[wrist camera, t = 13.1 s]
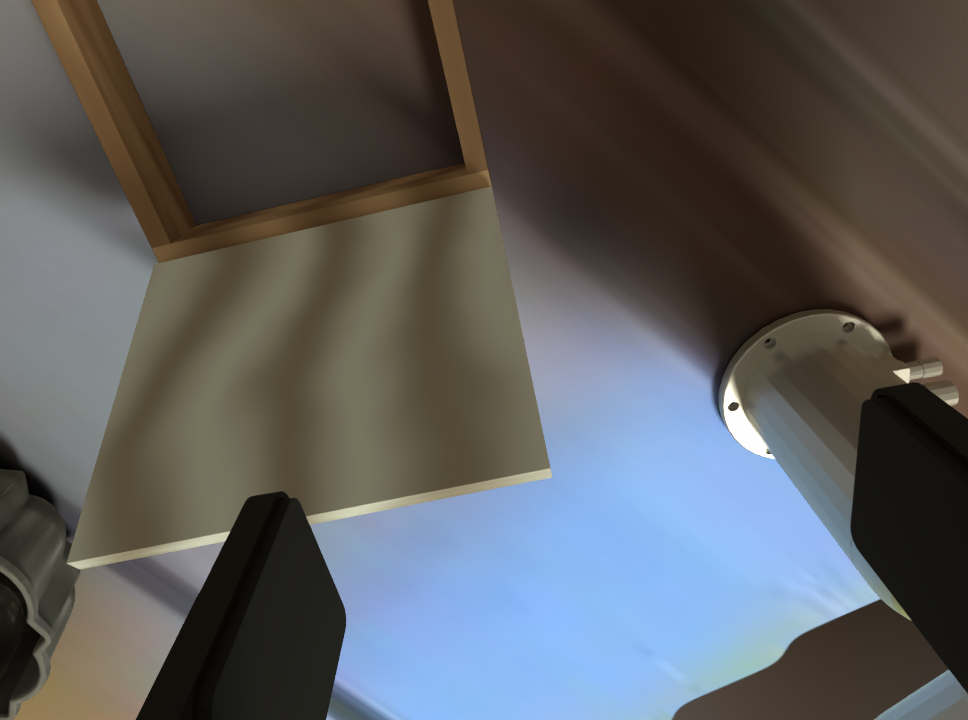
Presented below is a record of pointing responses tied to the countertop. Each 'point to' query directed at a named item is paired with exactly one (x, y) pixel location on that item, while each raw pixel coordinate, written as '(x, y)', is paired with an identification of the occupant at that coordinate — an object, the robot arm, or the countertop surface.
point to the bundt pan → (30, 590)
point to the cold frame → (302, 336)
